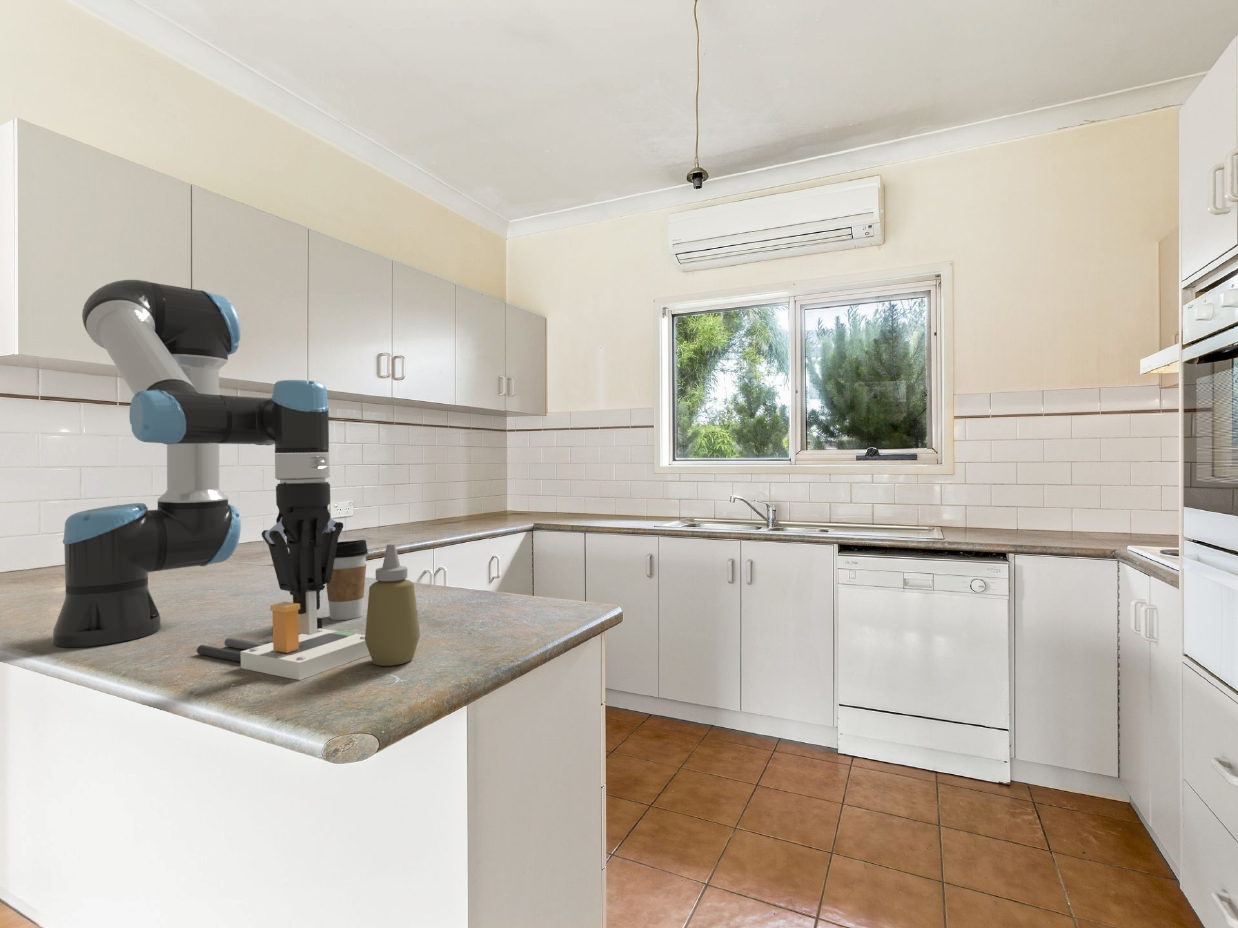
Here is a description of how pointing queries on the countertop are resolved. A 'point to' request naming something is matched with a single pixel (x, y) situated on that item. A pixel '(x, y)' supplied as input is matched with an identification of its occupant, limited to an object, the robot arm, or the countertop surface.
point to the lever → (285, 626)
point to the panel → (307, 654)
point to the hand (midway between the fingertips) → (307, 632)
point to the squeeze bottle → (392, 614)
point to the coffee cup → (347, 580)
